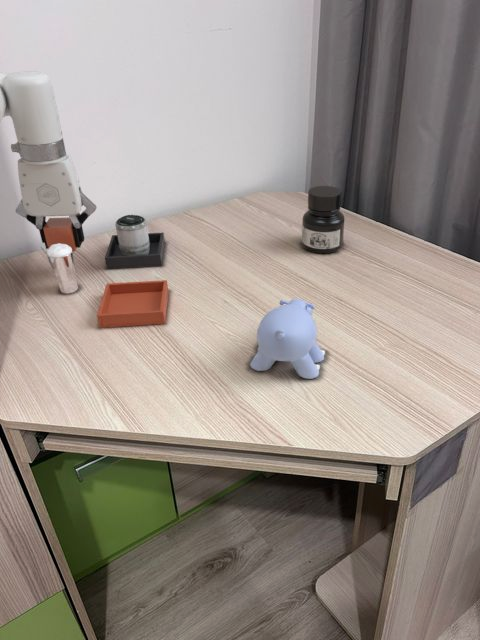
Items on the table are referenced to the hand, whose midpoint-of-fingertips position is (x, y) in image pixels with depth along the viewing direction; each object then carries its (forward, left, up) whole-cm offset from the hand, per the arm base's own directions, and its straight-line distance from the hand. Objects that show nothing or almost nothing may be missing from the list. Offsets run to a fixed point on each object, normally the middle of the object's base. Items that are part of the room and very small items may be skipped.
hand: (64, 244), depth 106 cm
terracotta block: (0, 0, 0) cm, 0 cm away
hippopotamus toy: (+41, -33, -6) cm, 53 cm away
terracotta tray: (+15, -16, -6) cm, 22 cm away
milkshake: (+1, -8, -6) cm, 10 cm away
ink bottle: (+53, +6, -6) cm, 53 cm away
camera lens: (+12, +6, -6) cm, 15 cm away
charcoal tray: (+13, +6, -6) cm, 15 cm away
